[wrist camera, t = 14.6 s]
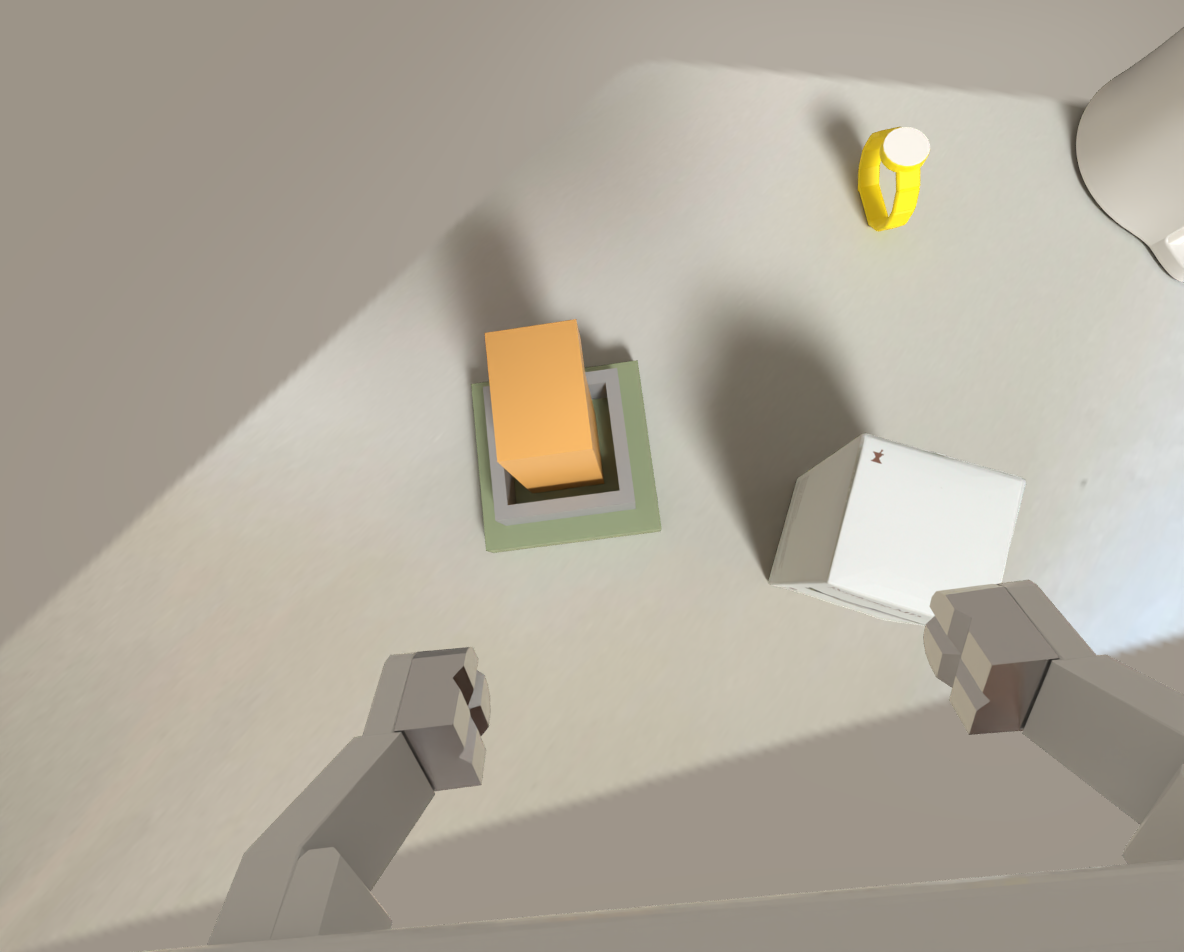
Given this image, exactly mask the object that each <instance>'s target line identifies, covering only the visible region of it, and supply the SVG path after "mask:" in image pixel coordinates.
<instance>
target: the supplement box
mask: <svg viewBox="0 0 1184 952" xmlns="http://www.w3.org/2000/svg"><path fill="white" fill-rule="evenodd" d="M1025 485H1026V480H1025V479H1023V478H1022V477H1020V476H1017V475H1013V474H1009V473H1006V472H1003V471H999V470H995V469H991V468H988V467H984V466H980V465H977V464H973V463H970V462H966V461H962V460H959V459H955V458H952V457H949V456H946V455H943V454H940V453H936V452H932V451H927V450H923V449H920V448H916V447H913V446H909V445H905V444H902V443H898V442H895V441H891V440H888V439H884V438H881V437H877V436H874V435H871V434H868V433H863V434H861V435H860V436H858V437H857V438H855V439H854V440H852V441H851V442H850V443H848V444H846V445H845V446H844V447H842V448H841V449H839V450H838V451H837V452H835V453H834V454H832V455H831V456H829V457H828V458H826V459H825V460H823V461H822V462H820V463H819V464H818V465H816V466H815V467H813V468H812V469H810V470H809V471H807V472H806V473H804V474H803V475H802V476H800V477H799V478H797V481H796V485H795V488H794V492H793V495H792V499H791V502H790V506H789V510H788V513H787V516H786V520H785V524H784V528H783V531H782V535H781V538H780V542H779V545H778V549H777V552H776V556H775V559H774V563H773V566H772V570H771V574H770V578H769V584H770V585H773V586H777V587H780V588H784V589H787V590H791V591H794V592H798V593H801V594H804V595H807V596H810V597H814V598H817V599H820V600H823V601H826V602H829V603H832V604H835V605H838V606H841V607H845V608H848V609H851V610H854V611H857V612H860V613H863V614H866V615H869V616H872V617H874V618H877V619H880V620H887V621H894V622H901V623H908V624H915V625H922V626H925V624H926V623H927V622H928V621H930V620H931V619H932V618H933V617H934V616H935V615H934V613H933V612H932V610H931V608H930V607H929V606H930V602H931V598H932V596H933V595H934V593H935V592H936V591H941V590H948V589H956V588H964V587H971V586H979V585H987V584H998V583H1002V579H1003V574H1004V570H1005V565H1006V561H1007V556H1008V552H1009V548H1010V545H1011V541H1012V537H1013V533H1014V529H1015V525H1016V521H1017V517H1018V513H1019V509H1020V505H1021V501H1022V497H1023V493H1024V489H1025Z"/></svg>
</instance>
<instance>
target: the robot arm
mask: <svg viewBox="0 0 1184 952" xmlns="http://www.w3.org/2000/svg"><path fill="white" fill-rule="evenodd" d="M1076 152H1077V160H1078V165H1079V169H1080V172H1081V175H1082V177H1083V180H1084V182H1085V184H1086V186H1087V188H1088V190H1089V191H1090V193H1091V194H1092V196H1093V198H1094V199H1095V200H1096V202H1097V203H1098V204H1099V205H1100V206H1101V208H1102V209H1103V210H1104V211H1105V212H1106V213H1107V214H1108V215H1109V216H1110V217H1111V218H1112V219H1114V220H1115V221H1116V222H1117V223H1118V224H1120V225H1121V226H1122V227H1124V228H1125V229H1127V230H1128V231H1130V232H1131V233H1133V234H1134V235H1136V236H1137V237H1138V238H1140V239H1141V240H1142V241H1144V242H1145V243H1146V244H1147V245H1148V246H1149V247H1150V249H1151V250H1152V252H1153V253H1154V255H1155V256H1156V258H1157V259H1158V260H1159V262H1160V263H1161V265H1162V266H1163V267H1164V269H1165V270H1166V271H1167V272H1168V273H1169V274H1170V275H1171V276H1172V277H1173V278H1175V279H1176V280H1178V281H1181V282H1184V27H1183V28H1182V29H1181V30H1180V31H1178V32H1177V33H1176V34H1175V35H1174V36H1172V37H1171V38H1170V39H1168V40H1167V41H1166V42H1164V43H1163V44H1162V45H1161V46H1159V47H1158V48H1157V49H1155V50H1154V51H1153V52H1151V53H1150V54H1148V55H1147V56H1146V57H1144V58H1143V59H1142V60H1140V61H1139V62H1138V63H1136V64H1134V65H1133V66H1132V67H1130V68H1129V69H1127V70H1126V71H1124V72H1122V73H1121V74H1119V75H1118V76H1116V77H1115V78H1113V79H1112V80H1110V81H1109V82H1108V83H1107V84H1105V85H1104V86H1103V87H1102V88H1101V89H1100V90H1099V91H1098V92H1097V93H1096V94H1095V95H1094V97H1093V98H1092V99H1091V101H1090V102H1089V103H1088V105H1087V107H1086V109H1085V110H1084V113H1083V115H1082V117H1081V120H1080V123H1079V127H1078V131H1077V139H1076ZM929 607H930V608H931V610H932V612H933V613H934V615H935V616H934V617H933V618H932V619H931V620H930V621H928V622H927V623H926V624H925V630H924V636H923V640H924V647H925V653H926V656H927V659H928V662H929V664H930V666H931V668H932V670H933V672H934V674H935V676H936V677H937V678H938V679H939V680H941V681H943V682H944V683H946V684H947V685H949V686H950V687H952V691H951V695H950V699H949V701H950V703H951V704H952V706H953V708H954V710H955V711H956V713H957V715H958V716H959V718H960V720H961V722H962V723H963V725H964V727H965V729H966V731H967V732H968V734H969V735H972V734H986V733H998V732H1012V731H1023V732H1022V734H1024V735H1025V736H1026V737H1027V738H1029V739H1030V740H1031V741H1033V742H1034V743H1035V744H1037V745H1038V746H1039V747H1040V748H1042V749H1043V750H1044V751H1045V752H1047V753H1048V754H1049V755H1051V756H1052V757H1053V758H1055V759H1056V760H1057V761H1058V762H1060V763H1061V764H1062V765H1064V766H1065V767H1066V768H1067V769H1069V770H1070V771H1071V772H1073V773H1074V774H1075V775H1077V776H1078V777H1079V778H1080V779H1082V780H1083V781H1084V782H1086V783H1087V784H1088V785H1089V786H1091V787H1092V788H1093V789H1095V790H1096V791H1097V792H1098V793H1100V794H1101V795H1102V796H1104V797H1105V798H1106V799H1108V800H1109V801H1110V802H1111V803H1113V804H1114V805H1115V806H1117V807H1118V808H1119V809H1121V810H1122V811H1123V812H1124V813H1126V814H1127V815H1128V816H1130V817H1131V818H1132V819H1134V820H1135V821H1136V822H1137V823H1139V824H1140V826H1139V828H1138V829H1137V830H1136V832H1135V833H1134V835H1133V836H1132V838H1131V839H1130V841H1129V842H1128V844H1127V845H1126V847H1125V849H1124V852H1123V854H1122V856H1123V858H1124V859H1125V861H1126V862H1127V864H1123V865H1113V866H1101V867H1089V868H1078V869H1067V870H1056V871H1044V872H1033V873H1021V874H1010V875H998V876H987V877H976V878H965V879H953V880H942V881H930V882H920V883H909V884H896V885H885V886H873V887H862V888H850V889H839V890H828V891H816V892H805V893H794V894H782V895H771V896H760V897H748V898H737V899H727V900H726V899H725V900H714V901H703V902H691V903H681V904H669V905H657V906H646V907H635V908H624V909H613V910H601V911H590V912H578V913H567V914H556V915H544V916H533V917H522V918H511V919H499V920H489V921H477V922H466V923H455V924H443V925H432V926H421V927H410V928H399V929H391V926H392V920H391V918H390V916H389V915H388V913H387V912H386V911H385V909H384V908H383V907H382V906H381V904H380V903H379V902H378V901H377V900H376V898H375V897H374V896H373V895H372V893H371V890H372V889H373V887H374V886H375V884H376V883H377V881H378V880H379V878H380V877H381V875H382V874H383V872H384V871H385V869H386V868H387V866H388V865H389V863H390V862H391V860H392V859H393V857H394V856H395V854H396V853H397V851H398V850H399V848H400V847H401V845H402V844H403V842H404V841H405V839H406V837H407V836H408V834H409V833H410V831H411V830H412V828H413V827H414V825H415V824H416V822H417V821H418V819H419V818H420V816H421V815H422V813H423V812H424V810H425V809H426V807H427V806H428V804H429V803H430V801H431V800H432V798H433V797H434V795H435V792H434V791H440V790H448V789H455V788H463V787H471V786H478V785H482V778H483V770H484V762H485V755H486V748H485V746H484V743H483V741H482V738H481V736H482V735H483V733H484V732H485V731H486V730H487V728H488V727H489V722H490V712H491V709H490V693H489V688H488V683H487V680H486V678H485V675H484V674H482V673H481V672H479V671H477V665H478V657H477V655H476V653H475V650H474V648H473V647H466V648H455V649H444V650H433V651H422V652H414V653H404V654H394V655H390V656H389V658H388V659H387V660H386V662H385V663H384V666H383V669H382V673H381V676H380V679H379V683H378V686H377V689H376V692H375V696H374V699H373V702H372V705H371V709H370V712H369V715H368V719H367V722H366V725H365V728H364V732H363V735H362V736H358V737H354V738H353V739H352V740H351V741H350V742H349V743H348V744H347V745H346V746H345V747H344V748H343V749H342V750H341V752H340V753H339V754H338V755H337V756H336V757H335V758H334V759H333V760H332V761H331V762H330V763H329V764H328V765H327V766H326V767H325V768H324V769H323V770H322V772H321V773H320V774H319V775H318V776H317V777H316V778H315V779H314V780H313V781H312V782H311V783H310V784H309V785H308V786H307V787H306V788H305V789H304V791H303V792H302V793H301V794H300V795H299V796H298V797H297V798H296V799H295V800H294V801H293V802H292V803H291V804H290V805H289V806H288V807H287V808H286V809H285V811H284V812H283V813H282V814H281V815H280V816H279V817H278V818H277V819H276V820H275V821H274V822H273V823H272V824H271V825H270V826H269V827H268V828H267V830H266V831H265V832H264V833H263V834H262V835H261V836H260V837H259V838H258V839H257V840H256V841H255V842H254V843H253V844H252V845H251V846H250V847H249V848H248V850H247V851H246V852H245V853H244V855H243V857H242V860H241V862H240V865H239V867H238V870H237V872H236V875H235V877H234V879H233V882H232V884H231V887H230V889H229V892H228V894H227V897H226V899H225V902H224V904H223V907H222V909H221V911H220V914H219V916H218V919H217V921H216V924H215V926H214V929H213V931H212V934H211V936H210V938H209V941H208V943H207V945H206V946H195V947H183V948H172V949H161V950H150V951H138V952H1184V695H1183V694H1181V693H1180V692H1178V691H1176V690H1174V689H1172V688H1170V687H1168V686H1166V685H1164V684H1162V683H1160V682H1158V681H1156V680H1155V679H1152V678H1151V677H1149V676H1147V675H1145V674H1143V673H1141V672H1139V671H1137V670H1135V669H1133V668H1131V667H1130V666H1128V665H1126V664H1124V663H1122V662H1120V661H1118V660H1116V659H1114V658H1112V657H1110V656H1108V655H1096V654H1095V653H1094V651H1093V650H1092V649H1091V648H1090V647H1089V646H1088V644H1087V643H1086V642H1085V641H1084V640H1083V639H1082V637H1081V636H1080V635H1079V634H1078V633H1077V631H1076V630H1075V629H1074V628H1073V627H1072V626H1071V624H1070V623H1069V622H1068V621H1067V620H1066V618H1065V617H1064V616H1063V615H1062V614H1061V613H1060V611H1059V610H1058V609H1057V608H1056V607H1055V605H1054V604H1053V603H1052V602H1051V601H1050V600H1049V598H1048V597H1047V596H1046V595H1045V594H1044V593H1043V591H1042V590H1041V589H1040V588H1039V587H1038V585H1037V584H1035V583H1034V582H1032V581H1030V580H1023V581H1015V582H1006V583H998V584H987V585H979V586H971V587H964V588H956V589H948V590H941V591H936V592H935V593H934V595H933V596H932V598H931V602H930V606H929Z"/></svg>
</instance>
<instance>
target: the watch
mask: <svg viewBox="0 0 1184 952" xmlns="http://www.w3.org/2000/svg"><path fill="white" fill-rule="evenodd" d="M929 151H930V143H929V140H928V138H927V137H926V135H925V134H923V133H922V132H921V131H919V130H917V129H915V128H910V127H896V128H892V129H887V130H882V131H878V132H875V133H872V135H871V136H870V137H869V139H868V141H867V142H866V144H865V146H864V147H863V150H862V154H861V159H860V163H859V169H858V192H860V196H861V200H862V203H863V207H864V210H865V214H866V218H867V221H868V225H869V226H871V227H872V228H873V229H875V230H876V231H883V230H888V229H893V228H897V227H900V226H902V225H905V224H906V223H907V221H908V220H909V218H910V216H911V215H912V213H913V212H914V210H915V207H916V203H917V199H918V195H919V190H920V188H919V186H920V167H921V166H922V165H923V163H924V162H925V160H926V158H927V157H928V155H929ZM881 161H882V163H883V165H884V166H886V167H887V168H888V169H889V170H891V171H893V172H896V194H895V199H894V204H893V209H892V212H891V214H890V216H889V217H888V214H887V211H886V207H885V204H884V200H883V197H882V193H881V190H880V186H879V173H880V162H881Z"/></svg>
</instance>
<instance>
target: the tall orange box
mask: <svg viewBox="0 0 1184 952" xmlns="http://www.w3.org/2000/svg"><path fill="white" fill-rule="evenodd" d="M485 343H486V353H487V363H488V373H489V383H490V393H491V403H492V414H493V424H494V434H495V444H496V454H497V462H498V463H499V464H500V465H501V466H502V467H504V468H505V469H506V470H507V471H508V472H509V473H510V474H511V475H512V476H513V477H515V478H516V479H517V480H518V481H519V482H520V483H521V484H522V485H523V486H525V487H526V488H527V489H528V490H529V491H530V492H531V493H532V494H533V493H540V492H548V491H555V490H562V489H570V488H577V487H584V486H592V485H599V484H604V476H603V469H602V461H601V453H600V446H599V438H598V430H597V423H596V415H595V410H594V407H593V403H592V399H591V395H590V391H589V387H588V383H587V379H586V375H585V369H584V361H583V353H582V346H581V338H580V334H579V330H578V325H577V321H576V319H574V320H568V321H561V322H554V323H548V324H541V325H534V326H528V327H521V328H514V329H508V330H501V331H494V332H488V333H485Z"/></svg>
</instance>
